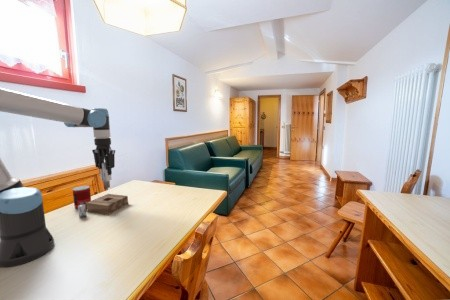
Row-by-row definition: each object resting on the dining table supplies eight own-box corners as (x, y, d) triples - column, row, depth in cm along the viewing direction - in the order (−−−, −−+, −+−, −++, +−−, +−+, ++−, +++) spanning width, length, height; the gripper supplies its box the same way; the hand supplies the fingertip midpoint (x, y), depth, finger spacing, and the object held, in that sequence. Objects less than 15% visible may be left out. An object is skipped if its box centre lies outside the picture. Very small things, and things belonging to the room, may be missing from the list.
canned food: (94, 203, 116) (92, 185, 115) (83, 209, 108) (81, 190, 107) (82, 203, 117) (80, 185, 115) (71, 208, 109) (68, 189, 107)
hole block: (108, 214, 102) (107, 205, 101) (87, 211, 105) (86, 202, 105) (128, 204, 115) (127, 195, 114) (108, 201, 119) (108, 193, 118)
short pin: (82, 218, 98) (81, 207, 97) (77, 217, 99) (76, 206, 98) (87, 215, 101) (86, 204, 100) (83, 214, 102) (82, 203, 101)
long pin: (106, 188, 107) (104, 163, 105) (102, 187, 108) (100, 163, 106) (111, 186, 110) (109, 162, 108) (107, 186, 110) (104, 161, 108)
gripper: (120, 137, 106) (123, 179, 110) (96, 137, 110) (100, 177, 114) (108, 138, 99) (112, 183, 102) (84, 138, 103) (88, 181, 107)
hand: (106, 180), depth 108 cm, fingers closed on long pin, 3 cm apart
